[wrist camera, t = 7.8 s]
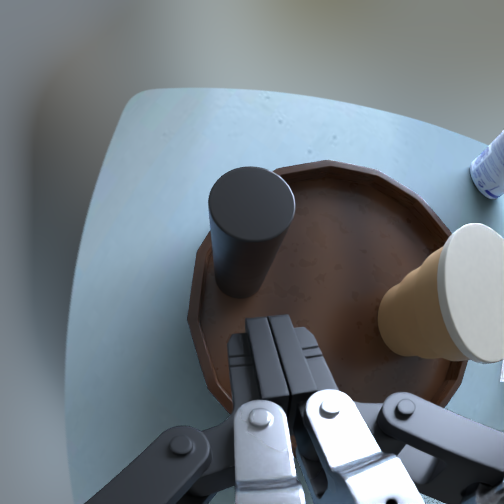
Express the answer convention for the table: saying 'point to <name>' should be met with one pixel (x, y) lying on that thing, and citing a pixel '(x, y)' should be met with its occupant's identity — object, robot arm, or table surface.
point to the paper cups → (450, 301)
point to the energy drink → (490, 169)
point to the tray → (316, 273)
